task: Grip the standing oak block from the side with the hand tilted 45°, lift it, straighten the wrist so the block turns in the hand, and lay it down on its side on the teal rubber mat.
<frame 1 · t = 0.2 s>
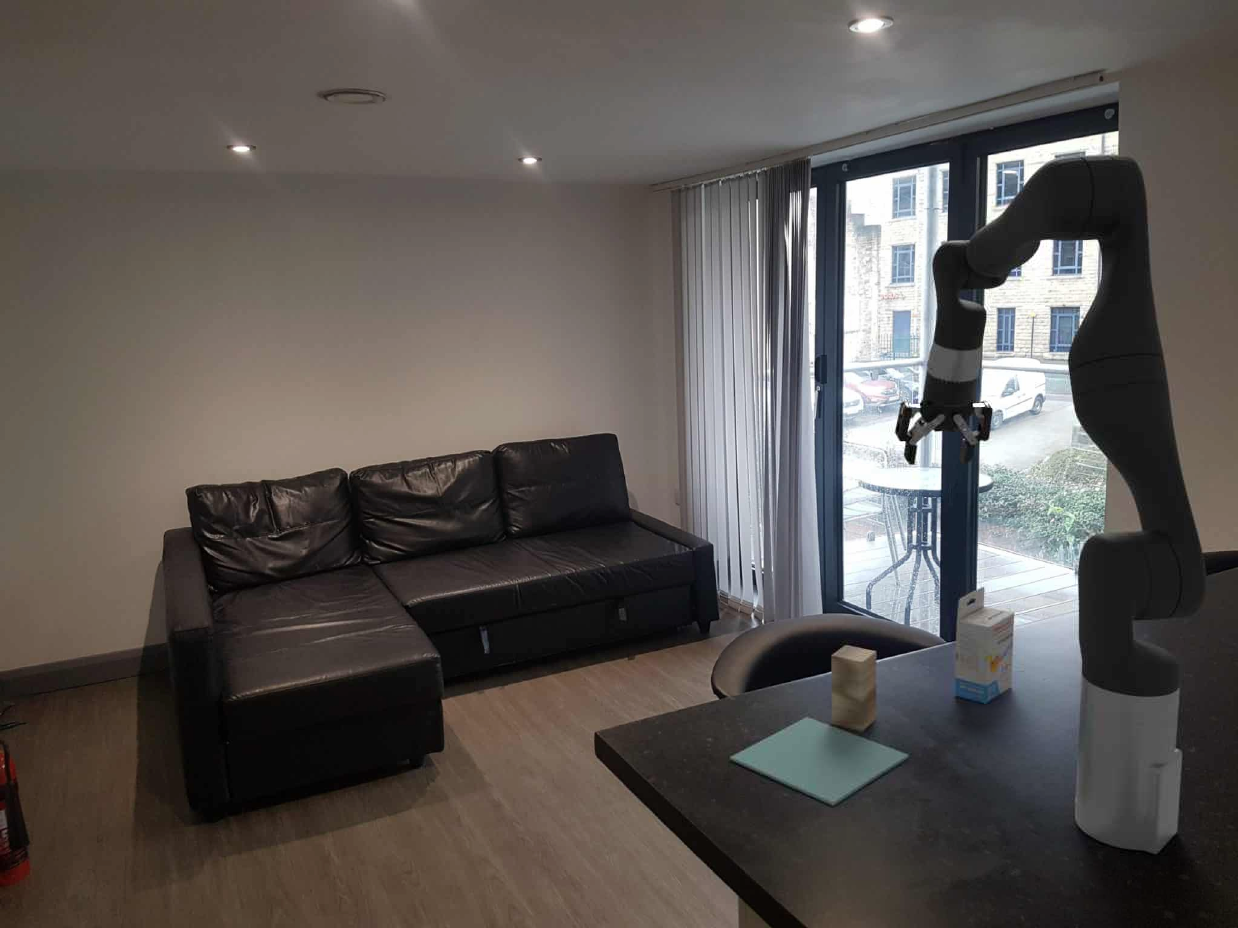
hand: (936, 462, 154), 31 cm above the breakfast bar, tool tilted 20°, fingers open, 8 cm apart
mat: (818, 758, 122), on the breakfast bar
ink box: (983, 692, 140), on the breakfast bar
block: (853, 721, 132), on the breakfast bar
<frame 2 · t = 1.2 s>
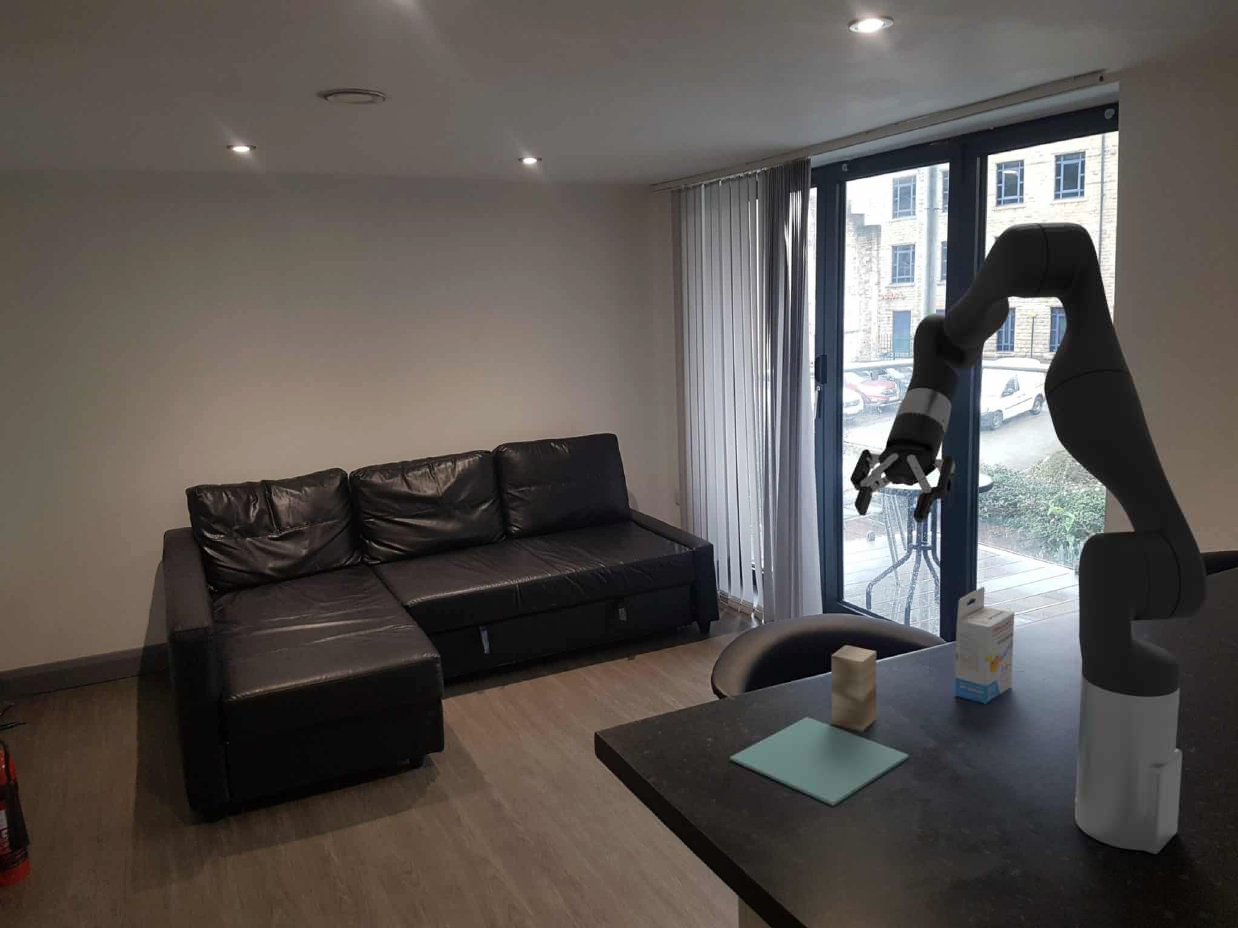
hand: (888, 516, 136), 27 cm above the breakfast bar, tool tilted 45°, fingers open, 8 cm apart
nothing on the breakfast bar moved.
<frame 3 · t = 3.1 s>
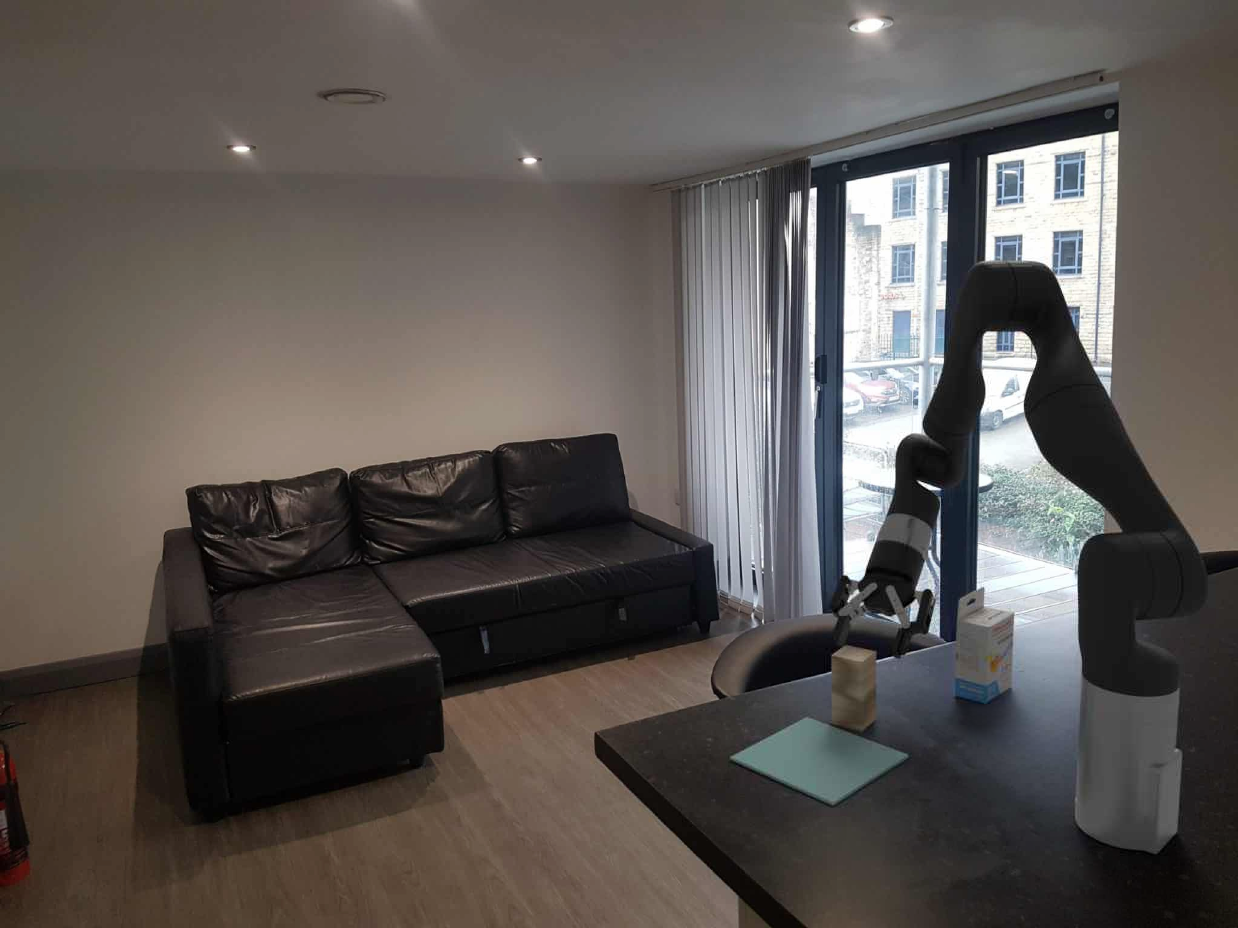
hand: (866, 649, 133), 9 cm above the breakfast bar, tool tilted 45°, fingers open, 8 cm apart
nothing on the breakfast bar moved.
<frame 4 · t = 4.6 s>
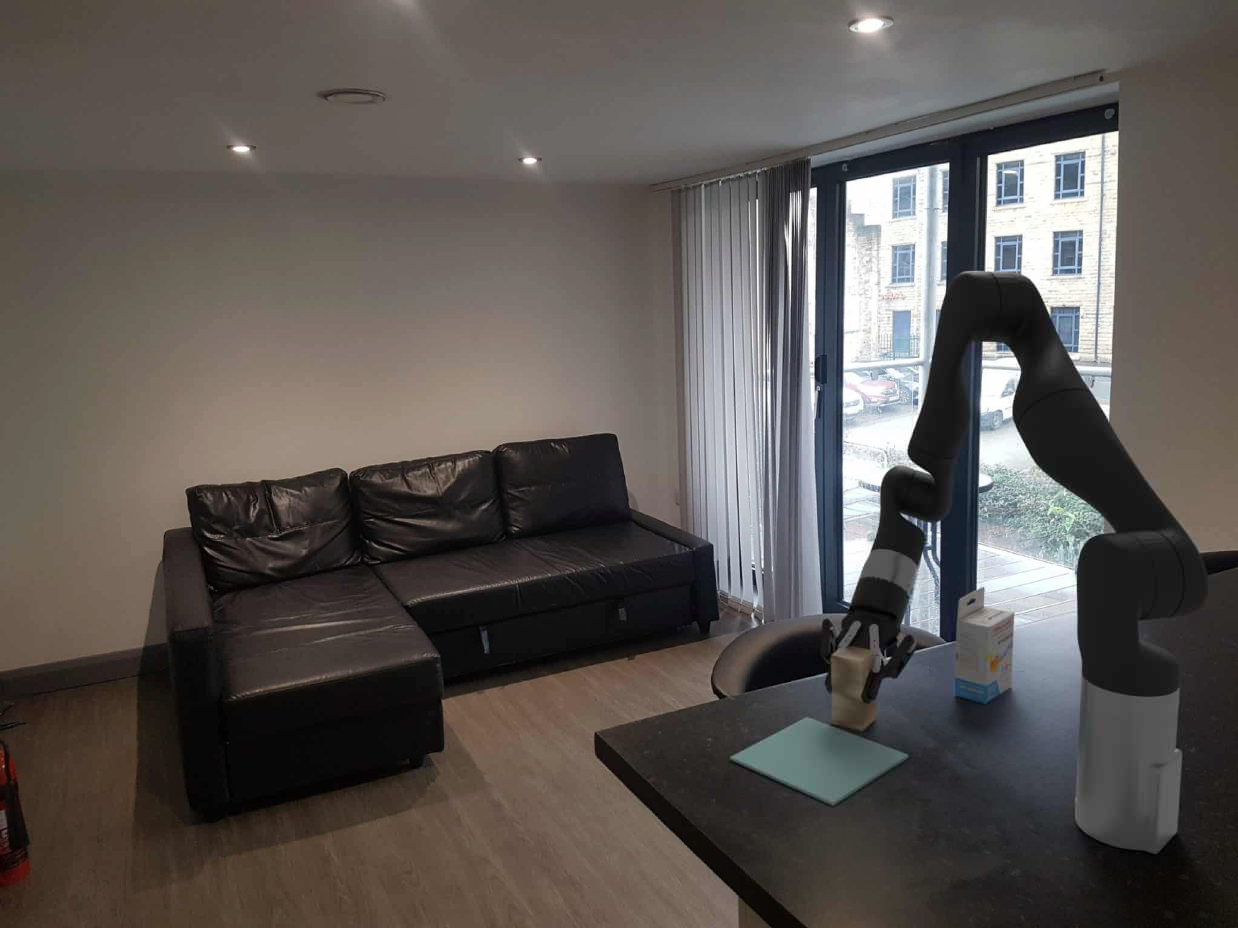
hand: (848, 696, 130), 4 cm above the breakfast bar, tool tilted 45°, fingers closed on block, 4 cm apart
block: (853, 721, 132), on the breakfast bar, touching gripper
everything else where it was.
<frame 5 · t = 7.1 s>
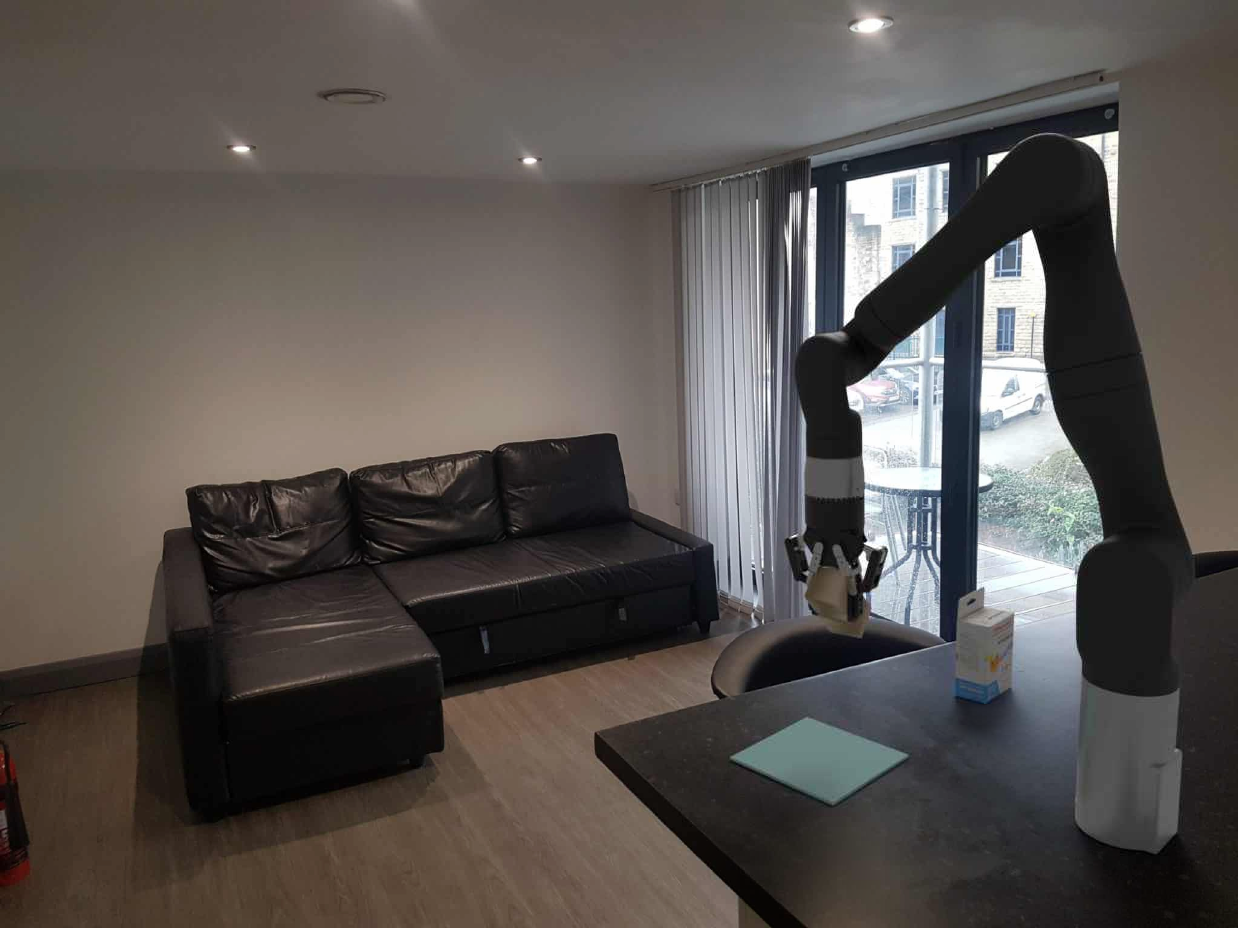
hand: (835, 616, 125), 17 cm above the breakfast bar, tool pointing down, fingers closed on block, 4 cm apart
block: (851, 620, 128), point 15 cm above the breakfast bar, tilted 45°, touching gripper
everything else where it was.
when the fingers open (5 cm above the breakfast bar, at t = 9.9 s): block moves 2 cm and tips over, resting on mat.
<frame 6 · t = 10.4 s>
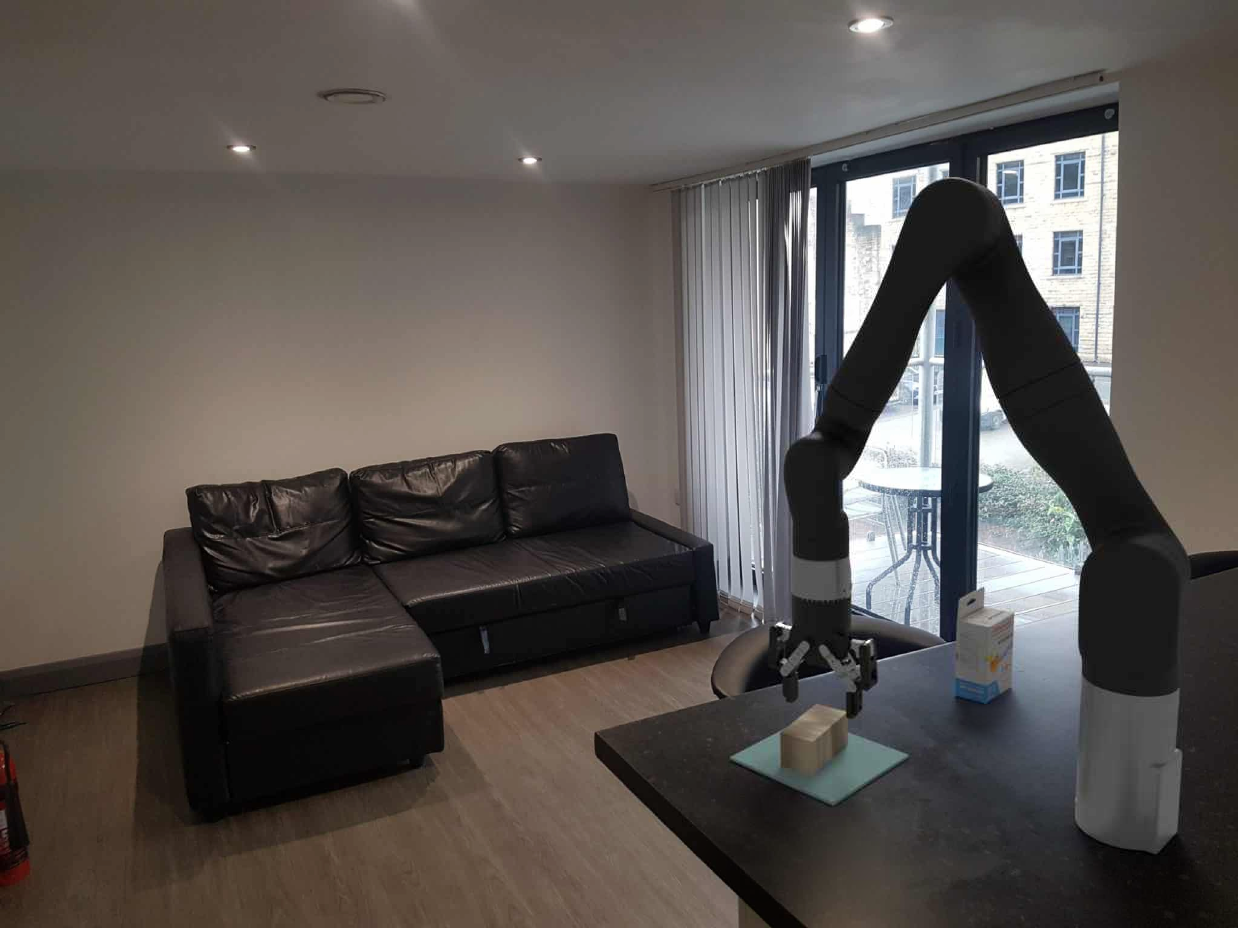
hand: (821, 708, 123), 6 cm above the breakfast bar, tool pointing down, fingers open, 8 cm apart
block: (832, 723, 126), point 3 cm above the breakfast bar, tilted 90°, touching mat
everything else where it was.
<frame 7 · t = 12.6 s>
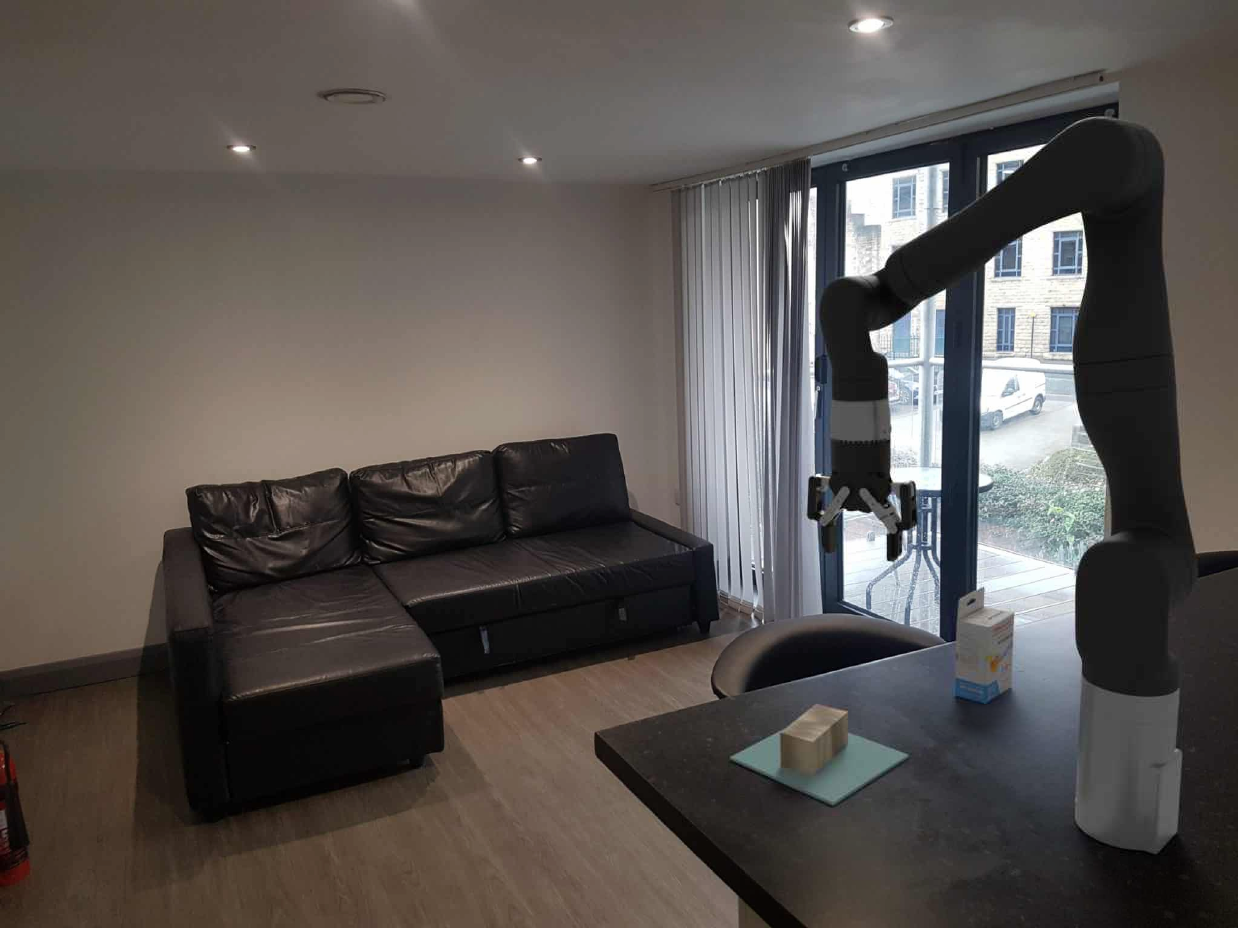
hand: (861, 555, 125), 25 cm above the breakfast bar, tool pointing down, fingers open, 8 cm apart
nothing on the breakfast bar moved.
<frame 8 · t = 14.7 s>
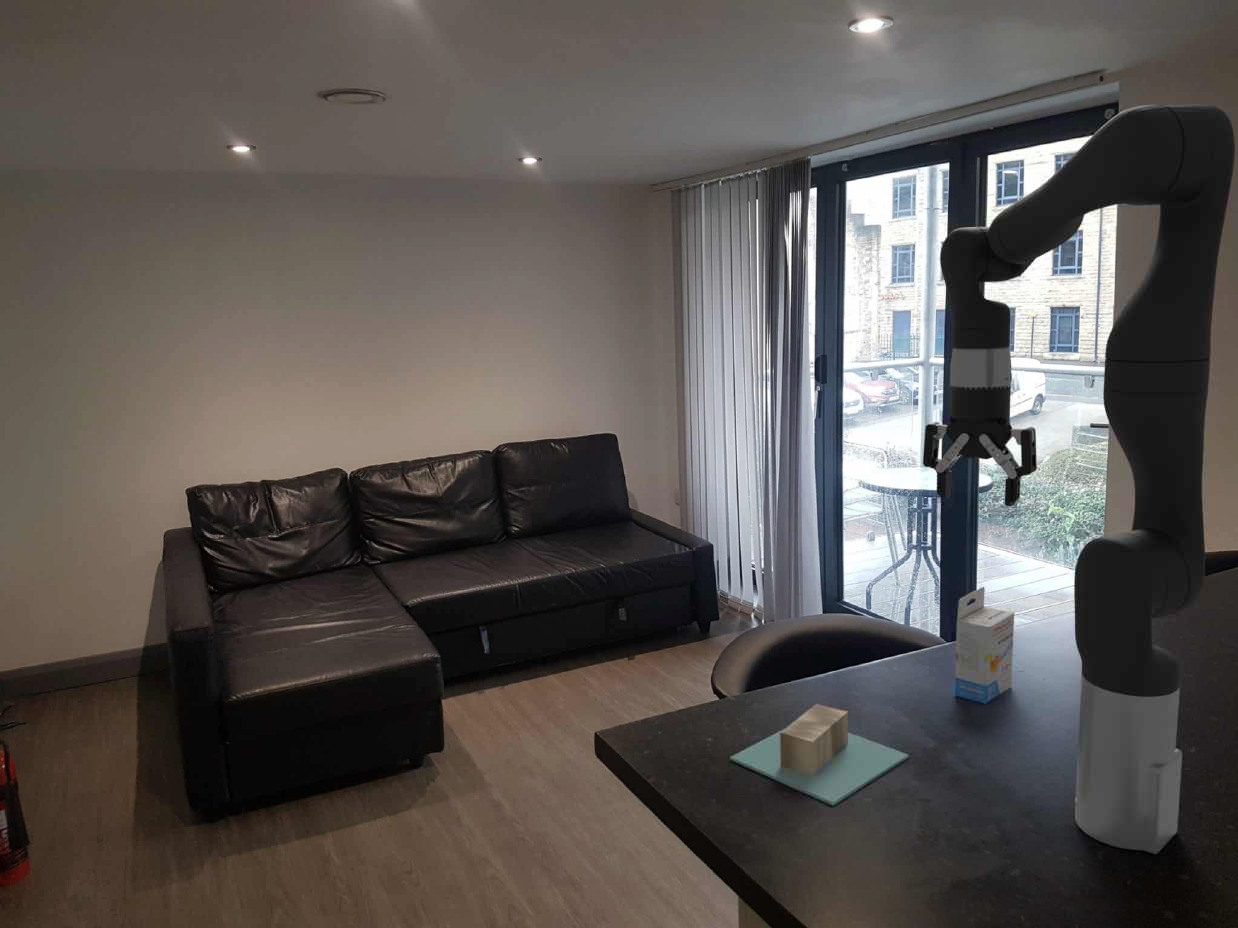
hand: (977, 501, 128), 30 cm above the breakfast bar, tool pointing down, fingers open, 8 cm apart
nothing on the breakfast bar moved.
at the end: block tilted 90°; block inside the target area (4.9 cm from its centre), point 2.6 cm above the breakfast bar; the gripper is holding nothing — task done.
